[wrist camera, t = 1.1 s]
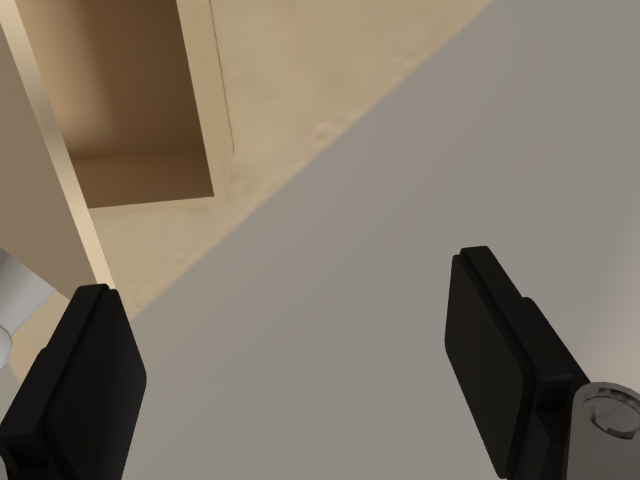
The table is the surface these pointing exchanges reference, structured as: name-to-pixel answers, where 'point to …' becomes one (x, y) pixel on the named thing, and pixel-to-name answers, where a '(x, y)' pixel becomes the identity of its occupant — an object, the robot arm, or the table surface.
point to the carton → (136, 100)
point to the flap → (40, 175)
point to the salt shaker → (17, 299)
